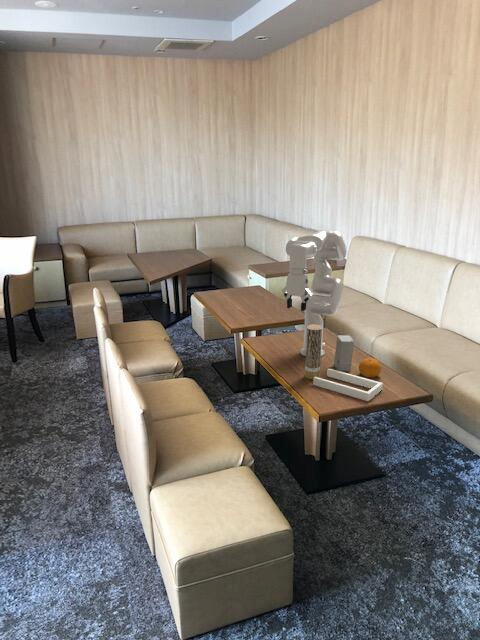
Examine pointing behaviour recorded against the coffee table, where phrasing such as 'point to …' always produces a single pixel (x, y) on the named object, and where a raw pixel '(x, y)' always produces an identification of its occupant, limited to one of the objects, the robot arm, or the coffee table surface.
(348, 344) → the skincare box
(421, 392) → the coffee table surface
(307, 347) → the paper tube
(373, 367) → the fruit
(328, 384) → the u-rest
